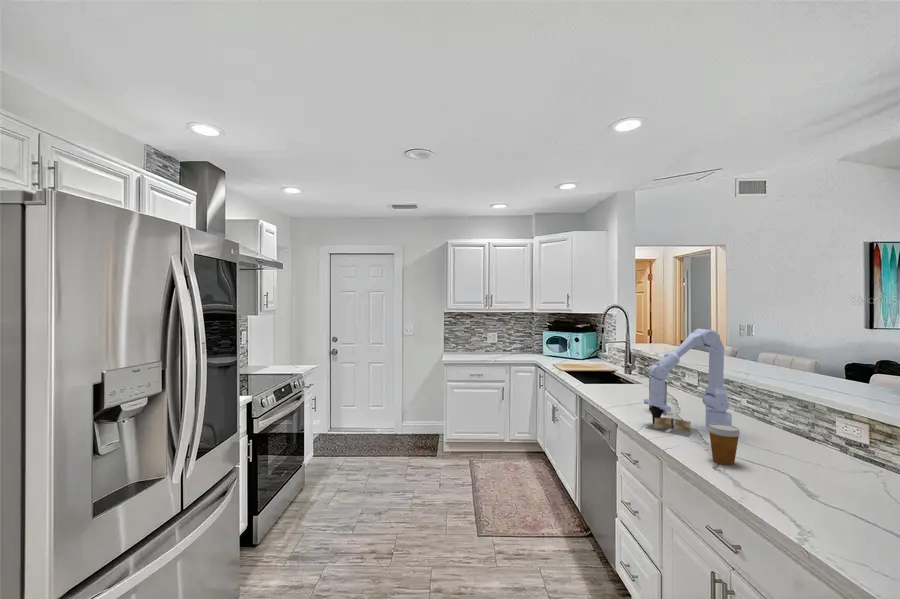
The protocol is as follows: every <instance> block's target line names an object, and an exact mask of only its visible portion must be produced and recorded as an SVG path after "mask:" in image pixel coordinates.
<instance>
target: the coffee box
mask: <svg viewBox="0 0 900 599" xmlns="http://www.w3.org/2000/svg"><path fill="white" fill-rule="evenodd" d="M648 382H649V384H648V385H649V386H648V387H649V388H648V389H649V391H648V394H649V395H648V399H649V400H650V378H649V380H648ZM667 395H668V382H666V381H665V398H664V404H666V405H668V404H667V402H668V400H667V399H668V396H667ZM650 407H652V406H651V405H648V409H649V408H650ZM662 414H663V415H664V416H667V412H666V411H665V410H664V412H663V413H662ZM663 415H662V416H663Z"/></svg>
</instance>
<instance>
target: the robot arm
mask: <svg viewBox="0 0 900 599" xmlns="http://www.w3.org/2000/svg"><path fill="white" fill-rule="evenodd" d="M697 346H698V347H699V346H704V347H705V348H706V349H707V350H708V353H709V354H708V358H709V359H708V378H707V380H708V384H707V388H705V390H704V394H703V396H702V403H703V404H704V406H705V426H704V427H703V429H702V430H703V431H706V432H709V430H708V427H709V425H710V424H713V423H718V424H727V425H731V426H733V423H732V422H733V420H732V419H733V418H732V413H731V412H728V409H729V406H730V402H729V399H728V393H727V392H726V391H725V389H724V369H725V366H724V365H725V364H724V363H725V345H724V344H723V342H722V340H721V335H720V334H719V333H718V332H717V331H715V330H713V329H703V328H696V329H694V330H693V331H692V332H691V333H689V334H688V336H687V337H686V339H685V340H684V341H683V342H682V343H681V344H680V345H679V346H678V347H677V348H675V349H674V351H673V352H670V351H669V352H666V353H664V354H663V357H661V358H660V359H659V361H656V362H655V364H652V365H651V366H650V367H649V369H647V372H648V375H649V379H650V400H649V398H646V399H643V404H644V405H648V406H649V405H651V406H652V407H650V408H649V407H648V410H649V412H650V414H651V418H652V423H653V424H655V418H662V416H663V415H662V413H663V412H664V410H665V411H666V413H668V412H669V413H670V412H672V407H671V406H669V405H668V404H667V405H666V404H664V398H665V382H666V378H668V376H669V373H670V371H671V370H672V369H673V368H674V367H676V366H677V365H678V364H680V361H681V360H680V358H681V357H682V356H684V355H685V354H686V353H688V352H689V351H690V350H692V349H693V348H694V347H697Z"/></svg>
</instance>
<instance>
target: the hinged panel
mask: <svg viewBox="0 0 900 599" xmlns="http://www.w3.org/2000/svg"><path fill="white" fill-rule="evenodd" d="M674 419H675V418H674V417H670V416H669V417H665V416H664V417H661V418H655V426H654V428H674Z"/></svg>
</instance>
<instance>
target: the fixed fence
mask: <svg viewBox="0 0 900 599" xmlns="http://www.w3.org/2000/svg"><path fill="white" fill-rule="evenodd" d="M691 423H692V422H691V421H689V420H685V419H678V418H674V429H676V430H681V431H686V432H691V428H692V425H691Z"/></svg>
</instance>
